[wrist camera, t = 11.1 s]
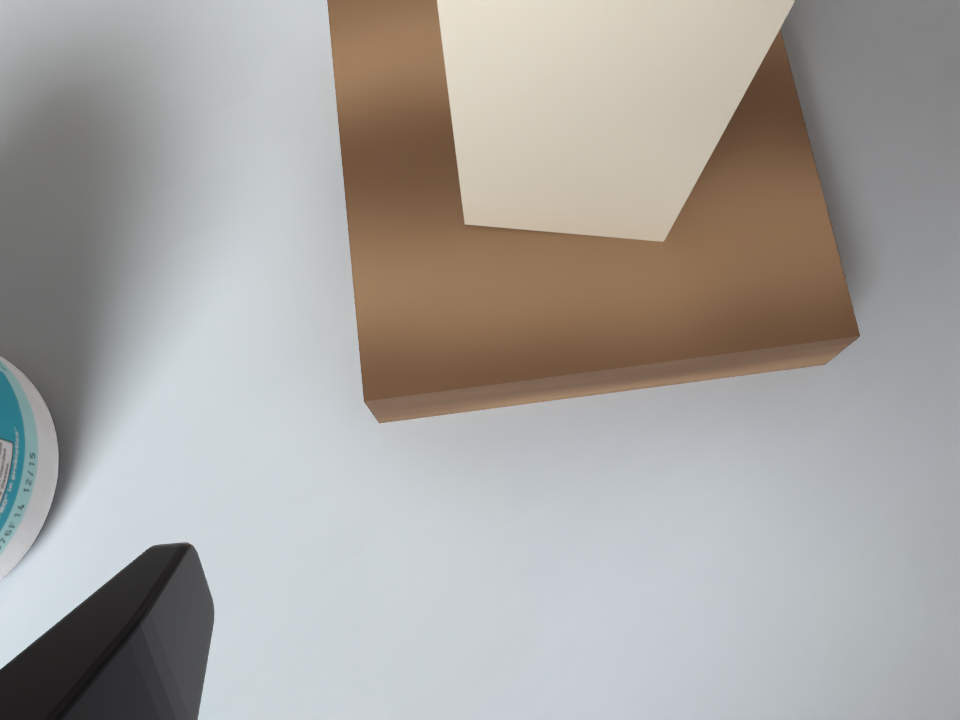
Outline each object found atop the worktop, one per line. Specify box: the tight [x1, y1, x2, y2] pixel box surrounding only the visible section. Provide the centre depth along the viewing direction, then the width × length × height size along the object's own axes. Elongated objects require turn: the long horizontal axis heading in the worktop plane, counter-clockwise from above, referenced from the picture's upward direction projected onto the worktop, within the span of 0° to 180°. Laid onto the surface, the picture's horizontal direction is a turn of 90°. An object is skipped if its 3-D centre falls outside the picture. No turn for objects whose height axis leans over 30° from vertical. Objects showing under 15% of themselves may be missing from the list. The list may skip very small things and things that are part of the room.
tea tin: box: [437, 0, 796, 242], centre depth 17 cm, size 5×5×12 cm
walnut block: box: [327, 0, 860, 423], centre depth 24 cm, size 12×12×3 cm
